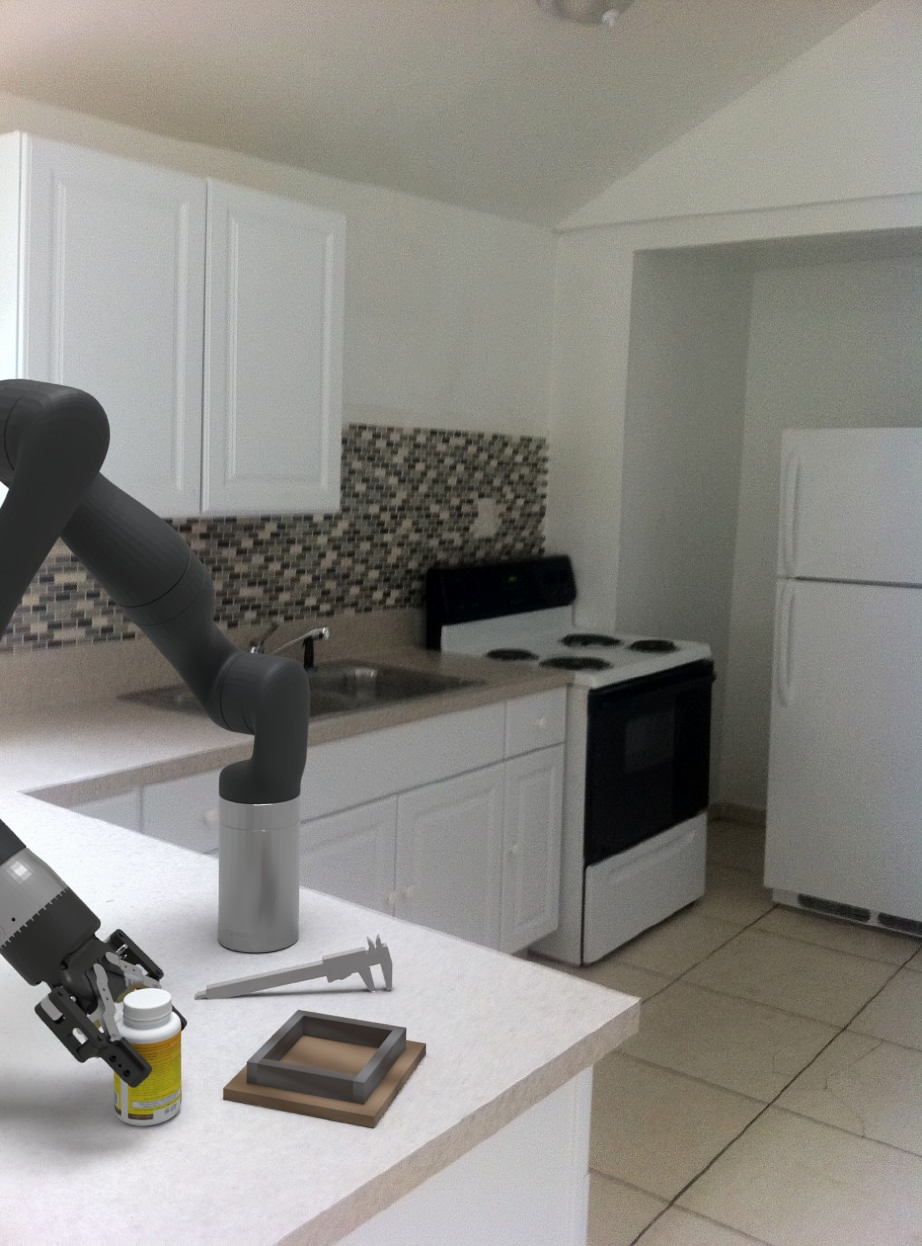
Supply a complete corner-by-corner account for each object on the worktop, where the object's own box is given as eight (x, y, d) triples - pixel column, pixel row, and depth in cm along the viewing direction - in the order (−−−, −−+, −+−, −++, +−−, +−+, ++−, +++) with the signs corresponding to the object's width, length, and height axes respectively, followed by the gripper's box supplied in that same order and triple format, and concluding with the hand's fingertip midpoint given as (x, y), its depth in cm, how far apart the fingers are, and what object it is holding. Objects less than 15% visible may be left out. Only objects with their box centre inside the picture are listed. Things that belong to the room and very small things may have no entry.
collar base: (289, 1030, 122) (290, 1000, 122) (425, 1053, 118) (426, 1023, 118) (223, 1099, 109) (223, 1066, 109) (373, 1127, 105) (374, 1094, 105)
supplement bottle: (195, 1109, 107) (195, 995, 106) (144, 1136, 103) (143, 1018, 101) (151, 1088, 110) (151, 978, 109) (100, 1114, 106) (99, 999, 105)
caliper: (390, 989, 133) (392, 932, 132) (392, 993, 132) (393, 936, 131) (194, 998, 129) (194, 940, 129) (194, 1003, 128) (194, 944, 127)
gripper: (21, 918, 98) (163, 1068, 98) (95, 860, 112) (219, 992, 112) (-42, 977, 99) (99, 1126, 99) (39, 913, 113) (162, 1043, 113)
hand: (162, 1055), depth 106 cm, fingers open, 8 cm apart
